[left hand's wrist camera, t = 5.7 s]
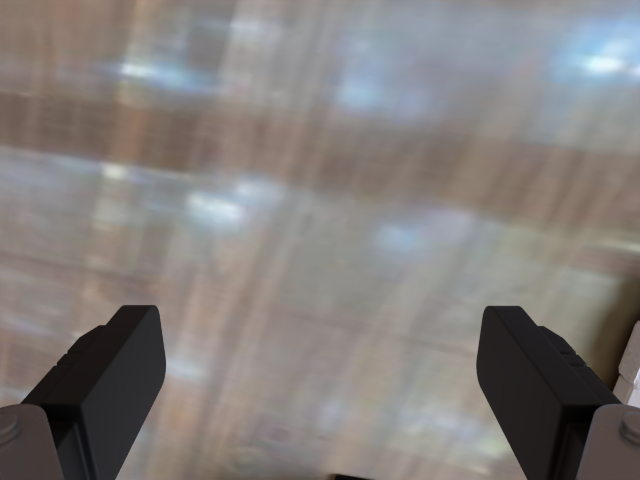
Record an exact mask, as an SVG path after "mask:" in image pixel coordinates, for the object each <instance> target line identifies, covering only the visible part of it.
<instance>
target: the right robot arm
mask: <svg viewBox="0 0 640 480" xmlns="http://www.w3.org/2000/svg"><path fill="white" fill-rule="evenodd" d="M335 480H362V479H356V478H351V477H345V476H336V477H335Z"/></svg>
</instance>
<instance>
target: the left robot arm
mask: <svg viewBox="0 0 640 480" xmlns="http://www.w3.org/2000/svg"><path fill="white" fill-rule="evenodd" d="M476 369H477V377H478V381H479V384H480V387H481V389H482V391H483V393H484V395H485V397H486V399H487V401H488V403H489V405H490V407H491V409H492V411H493V413H494V415H495V417H496V419H497V421H498V423H499V425H500V427H501V428H502V430H503V432H504V434H505V436H506V438H507V440H508V442H509V444H510V446H511V448H512V450H513V452H514V454H515V456H516V458H517V460H518V462H519V464H520V466H521V468H522V470H523V472H524V474H525V476H526V478H527V480H640V408H638V407H635V406H630V405H624V404H622V402H621V401H620V400H619V399H618V398H617V397H616V396H615V395H614V394H613V393H612V391H611V390H610V389H609V388H608V387H607V386H606V385H605V384H604V383H603V382H602V380H601V379H600V378H599V377H598V376H597V375H596V374H595V373H594V372H593V371H592V369H591V368H590V367H587V366H586V363H585V362H584V361H583V360H582V358H581V357H580V356H579V355H576V352H575V351H574V350H573V349H572V347H571V346H570V345H569V344H568V343H567V342H566V341H565V340H564V339H563V338H562V337H560V336H559V335H557V334H555V333H554V332H552V331H551V330H549V329H547V328H546V327H544V326H537V325H536V324H535V323H534V321H533V320H532V319H531V318H530V317H529V316H528V314H527V313H526V312H525V311H524V310H523V309H522V308H521V307H520V306H487V307H486V308H485V310H484V313H483V318H482V325H481V333H480V340H479V347H478V354H477V362H476ZM165 372H166V358H165V350H164V343H163V336H162V329H161V322H160V315H159V311H158V308H157V307H156V306H155V305H123V306H122V307H121V308H120V309H119V310H118V311H117V312H116V313H115V315H114V316H113V317H112V318H111V319H110V321H109V322H108V323H107V324H106V325H99V326H97V327H96V328H94V329H93V330H91V331H89V332H88V333H86V334H84V335H83V336H81V337H80V338H79V339H78V340H77V341H76V342H75V343H74V344H73V346H72V347H71V348H70V349H69V350H68V353H67V354H64V356H63V357H62V358H61V359H60V360H59V361H58V362H57V366H54V367H53V368H52V369H51V370H50V371H49V372H48V373H47V374H46V376H45V377H44V378H43V379H42V380H41V381H40V382H39V383H38V384H37V386H36V387H35V388H34V389H33V390H32V391H31V392H30V393H29V394H28V396H27V397H26V398H25V399H24V400H23V401H22V402H21V403H20V404H16V405H10V406H5V407H2V408H0V480H115V479H116V477H117V475H118V473H119V471H120V469H121V467H122V465H123V463H124V461H125V459H126V457H127V455H128V453H129V451H130V449H131V447H132V445H133V443H134V441H135V439H136V437H137V435H138V433H139V431H140V429H141V427H142V425H143V423H144V421H145V419H146V417H147V415H148V413H149V411H150V409H151V407H152V405H153V403H154V401H155V399H156V397H157V395H158V393H159V391H160V389H161V387H162V385H163V382H164V378H165Z"/></svg>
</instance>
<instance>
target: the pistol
mask: <svg viewBox="0 0 640 480" xmlns="http://www.w3.org/2000/svg"><path fill="white" fill-rule="evenodd" d="M619 373H620V374H621V375H620V376H619V378H618V381H617V383H616V386H615V388H614V390H613V394H614V395H615V396H616V397H617V398H618V399H619V400H620V401H621V402H622V404H624V405H630V406H635V407H638V408H640V321H639V320H638V321H637V323H636V324H635V326H634V329H633V331H632V334H631V337H630V339H629V342H628V344H627V347H626V349H625V352H624V354H623V357H622V359H621V362H620V365H619Z"/></svg>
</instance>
